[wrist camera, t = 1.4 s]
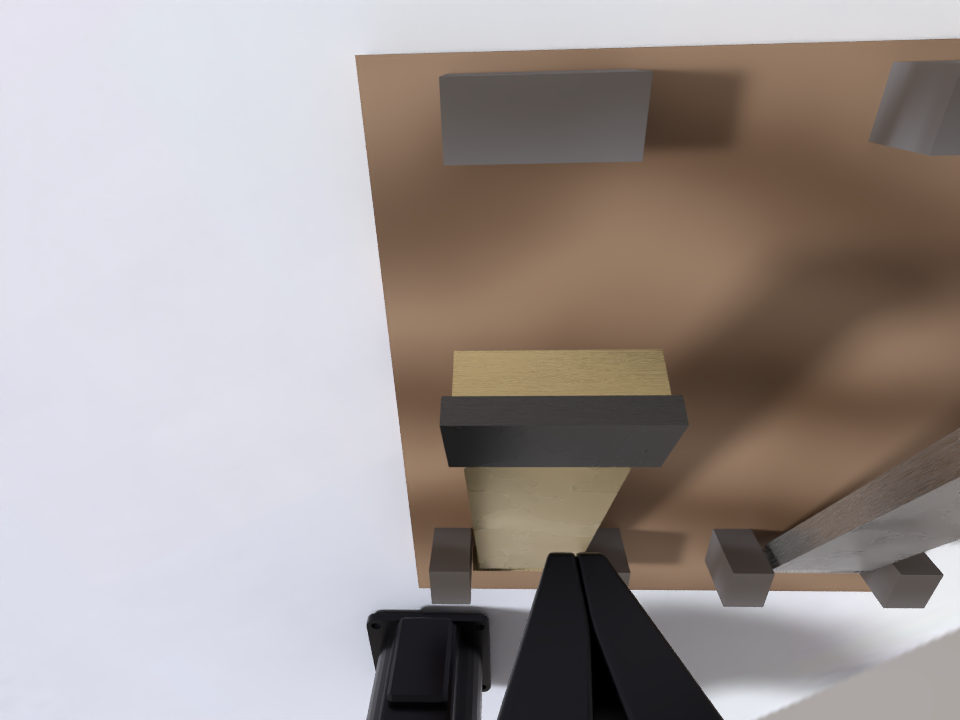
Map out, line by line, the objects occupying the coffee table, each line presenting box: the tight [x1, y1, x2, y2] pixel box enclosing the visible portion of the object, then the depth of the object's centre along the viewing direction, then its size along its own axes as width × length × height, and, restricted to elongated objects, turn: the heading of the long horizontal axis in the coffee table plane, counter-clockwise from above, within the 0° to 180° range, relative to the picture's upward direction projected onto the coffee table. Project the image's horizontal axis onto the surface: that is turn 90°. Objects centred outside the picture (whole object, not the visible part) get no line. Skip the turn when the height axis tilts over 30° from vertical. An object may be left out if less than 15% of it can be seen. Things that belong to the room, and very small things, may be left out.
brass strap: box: [439, 349, 689, 571], centre depth 17 cm, size 16×5×2 cm, turn 0°
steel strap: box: [761, 428, 960, 574], centre depth 16 cm, size 16×5×2 cm, turn 0°
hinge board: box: [355, 39, 960, 608], centre depth 19 cm, size 22×22×4 cm
